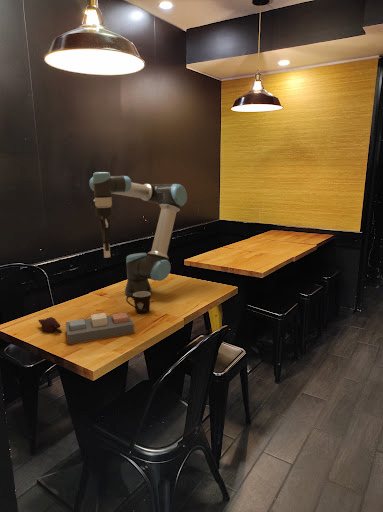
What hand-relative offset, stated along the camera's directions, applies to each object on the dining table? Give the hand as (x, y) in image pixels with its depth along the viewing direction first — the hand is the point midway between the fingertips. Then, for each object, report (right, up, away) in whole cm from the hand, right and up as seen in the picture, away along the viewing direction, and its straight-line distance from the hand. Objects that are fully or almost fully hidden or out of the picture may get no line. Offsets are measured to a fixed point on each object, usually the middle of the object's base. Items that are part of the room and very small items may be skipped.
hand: (107, 257), depth 173 cm
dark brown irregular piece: (-23, -33, -10) cm, 42 cm away
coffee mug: (+14, -28, +10) cm, 33 cm away
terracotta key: (+8, -30, -11) cm, 33 cm away
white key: (0, -29, -14) cm, 33 cm away
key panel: (0, -33, -13) cm, 36 cm away
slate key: (-8, -31, -17) cm, 37 cm away
